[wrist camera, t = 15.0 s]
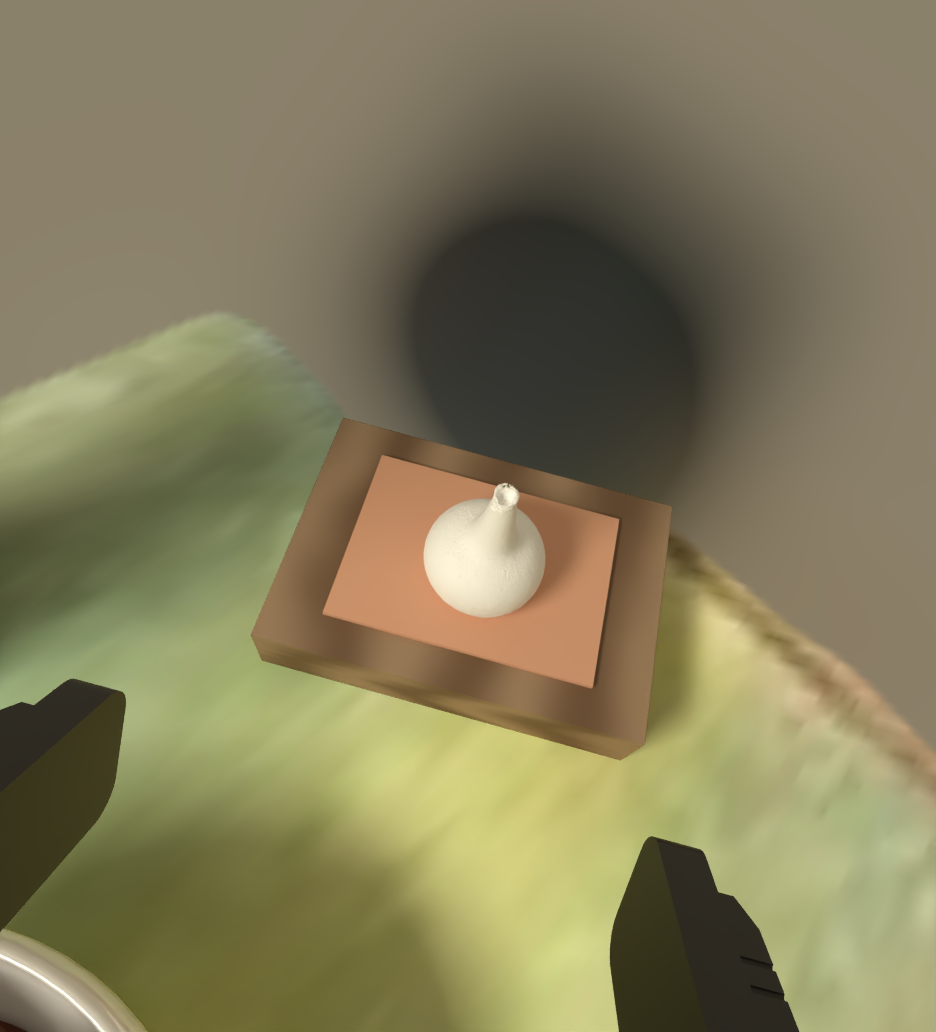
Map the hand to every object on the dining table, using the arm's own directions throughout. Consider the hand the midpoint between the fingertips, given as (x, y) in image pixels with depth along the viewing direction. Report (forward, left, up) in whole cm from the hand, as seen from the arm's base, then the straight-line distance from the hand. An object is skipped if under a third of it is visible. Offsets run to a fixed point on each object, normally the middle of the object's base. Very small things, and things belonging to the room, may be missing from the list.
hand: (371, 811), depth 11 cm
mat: (+1, +16, -23) cm, 28 cm away
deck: (+1, +16, -27) cm, 31 cm away
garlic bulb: (+1, +16, -23) cm, 28 cm away
